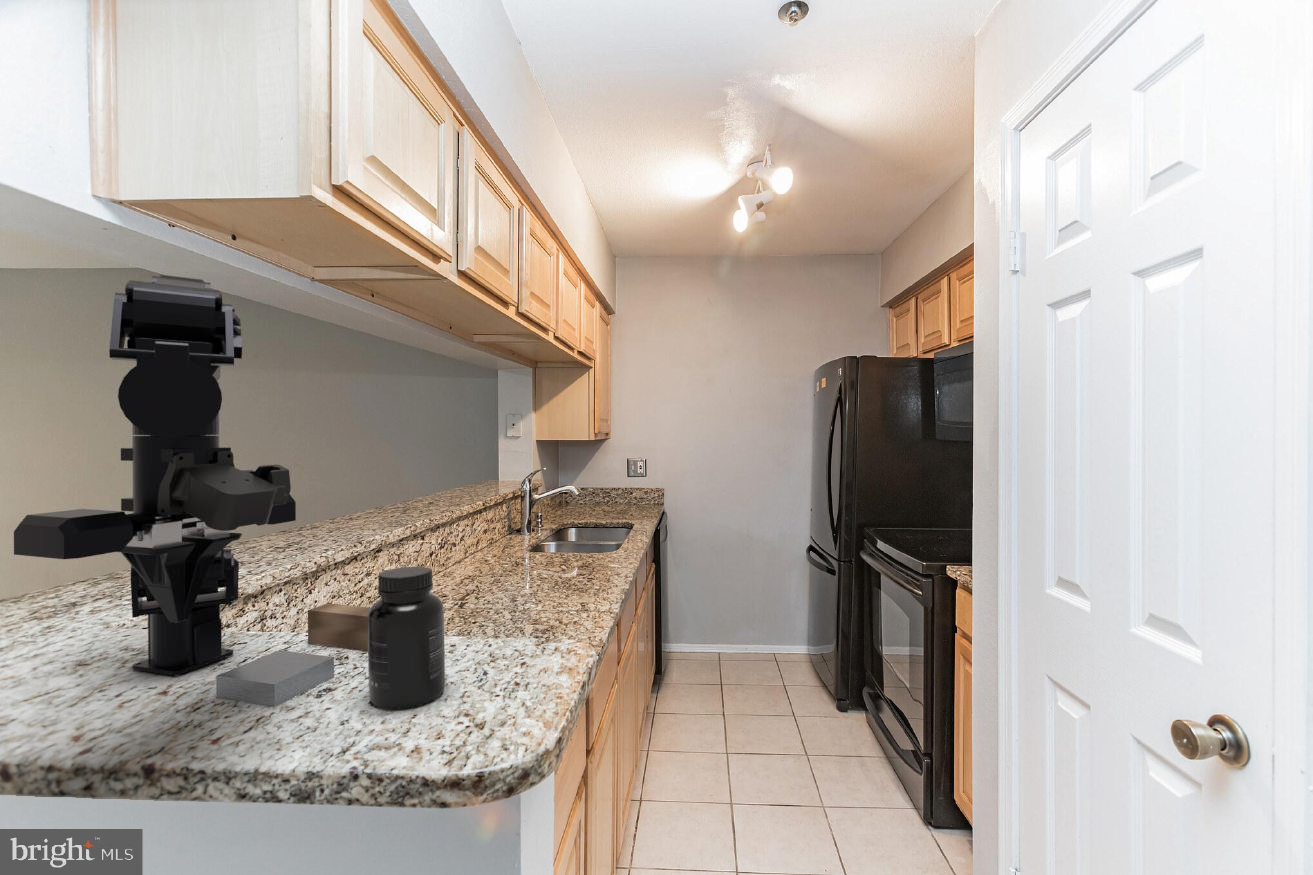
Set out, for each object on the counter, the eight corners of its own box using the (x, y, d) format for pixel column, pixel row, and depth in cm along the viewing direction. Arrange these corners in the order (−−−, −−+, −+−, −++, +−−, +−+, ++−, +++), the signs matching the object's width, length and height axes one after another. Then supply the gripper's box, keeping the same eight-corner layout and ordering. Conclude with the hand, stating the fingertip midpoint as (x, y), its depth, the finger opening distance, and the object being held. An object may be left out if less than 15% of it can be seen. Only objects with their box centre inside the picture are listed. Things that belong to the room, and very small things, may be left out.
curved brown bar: (307, 643, 72) (307, 610, 72) (327, 635, 75) (327, 603, 75) (407, 655, 68) (407, 620, 68) (424, 646, 71) (424, 612, 71)
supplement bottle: (421, 674, 63) (421, 560, 63) (458, 693, 59) (458, 570, 59) (354, 697, 58) (354, 572, 58) (389, 719, 54) (389, 584, 53)
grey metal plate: (216, 701, 58) (216, 675, 58) (280, 673, 64) (280, 649, 64) (274, 711, 56) (274, 684, 56) (334, 681, 63) (333, 656, 62)
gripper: (121, 439, 39) (123, 676, 40) (342, 435, 57) (342, 599, 58) (7, 437, 42) (9, 657, 43) (250, 434, 60) (251, 589, 61)
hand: (178, 621), depth 51 cm, fingers closed
